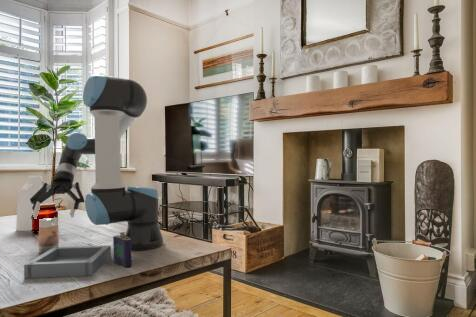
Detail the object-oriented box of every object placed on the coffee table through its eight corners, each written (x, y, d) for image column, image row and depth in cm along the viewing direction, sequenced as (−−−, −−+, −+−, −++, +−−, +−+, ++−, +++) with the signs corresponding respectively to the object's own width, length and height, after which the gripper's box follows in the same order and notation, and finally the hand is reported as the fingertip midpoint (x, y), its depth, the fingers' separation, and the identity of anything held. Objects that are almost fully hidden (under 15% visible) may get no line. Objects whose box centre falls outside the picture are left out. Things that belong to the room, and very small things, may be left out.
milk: (54, 226, 173) (54, 175, 173) (39, 231, 161) (38, 176, 161) (32, 225, 174) (32, 175, 174) (16, 230, 162) (15, 177, 162)
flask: (111, 263, 111) (111, 230, 111) (120, 260, 113) (119, 229, 113) (126, 269, 105) (126, 234, 105) (134, 266, 107) (134, 233, 107)
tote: (110, 256, 118) (110, 245, 118) (92, 275, 99) (92, 262, 99) (54, 258, 116) (54, 247, 116) (24, 278, 97) (24, 264, 97)
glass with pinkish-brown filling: (61, 248, 130) (61, 217, 129) (54, 253, 123) (53, 220, 123) (44, 249, 129) (43, 217, 129) (35, 253, 122) (34, 220, 122)
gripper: (96, 181, 152) (88, 220, 138) (36, 182, 148) (21, 222, 133) (93, 169, 147) (85, 209, 133) (31, 170, 143) (15, 211, 128)
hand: (53, 216), depth 133 cm, fingers open, 13 cm apart
